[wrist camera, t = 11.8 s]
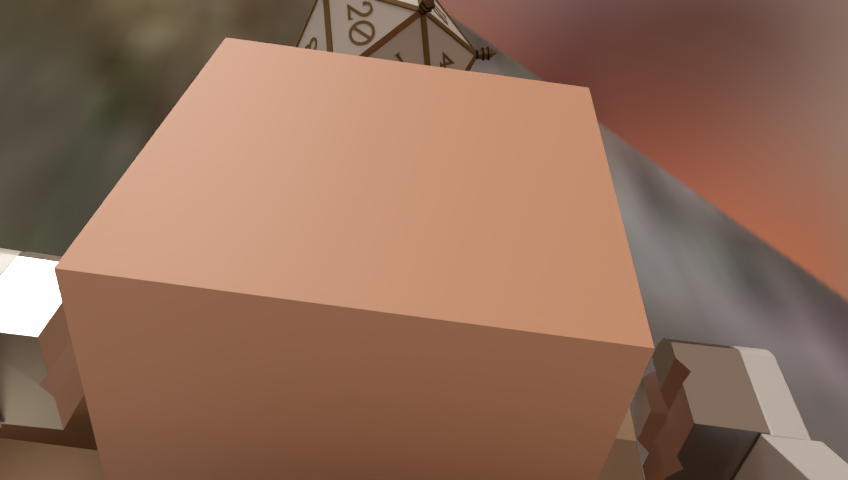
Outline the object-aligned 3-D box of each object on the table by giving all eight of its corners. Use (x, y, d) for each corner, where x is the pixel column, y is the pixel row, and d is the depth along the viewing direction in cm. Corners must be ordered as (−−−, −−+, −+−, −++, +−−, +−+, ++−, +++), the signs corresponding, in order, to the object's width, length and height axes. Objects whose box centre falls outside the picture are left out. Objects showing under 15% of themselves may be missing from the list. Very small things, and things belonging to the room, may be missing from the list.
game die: (402, 227, 35) (515, 141, 27) (229, 163, 33) (294, 45, 24) (434, 75, 39) (542, -42, 31) (280, 6, 36) (353, -145, 28)
